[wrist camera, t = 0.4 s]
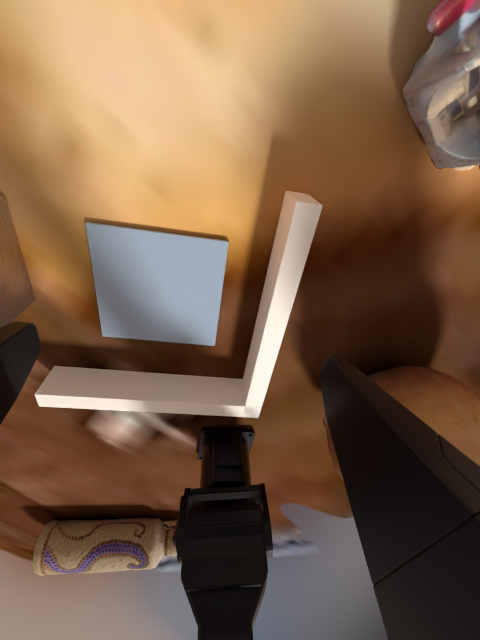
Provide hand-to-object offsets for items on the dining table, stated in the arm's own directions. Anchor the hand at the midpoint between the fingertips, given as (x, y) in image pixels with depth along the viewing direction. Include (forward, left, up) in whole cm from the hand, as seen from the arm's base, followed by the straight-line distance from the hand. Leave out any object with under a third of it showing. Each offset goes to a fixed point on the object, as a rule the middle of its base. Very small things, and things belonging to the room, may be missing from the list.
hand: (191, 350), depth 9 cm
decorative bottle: (-52, +9, -14) cm, 55 cm away
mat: (-6, +3, -14) cm, 15 cm away
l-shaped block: (-7, +3, -14) cm, 16 cm away
